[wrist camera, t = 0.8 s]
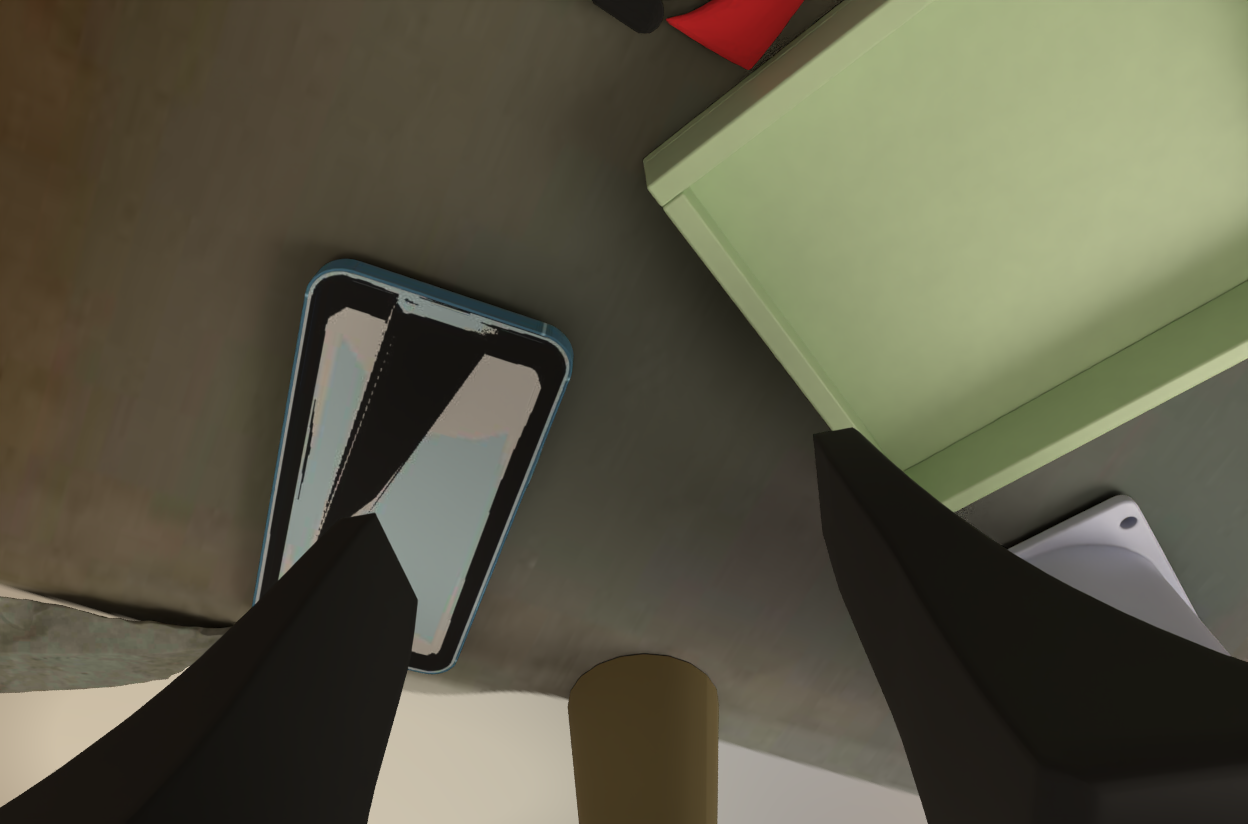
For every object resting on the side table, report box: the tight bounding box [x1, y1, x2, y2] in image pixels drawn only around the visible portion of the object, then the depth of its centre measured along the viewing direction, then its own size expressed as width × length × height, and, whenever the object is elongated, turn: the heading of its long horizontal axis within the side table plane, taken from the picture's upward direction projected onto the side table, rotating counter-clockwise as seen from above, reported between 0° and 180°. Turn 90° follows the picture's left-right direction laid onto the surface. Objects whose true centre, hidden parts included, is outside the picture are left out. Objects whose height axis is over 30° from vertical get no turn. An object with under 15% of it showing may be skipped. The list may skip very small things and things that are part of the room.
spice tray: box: [643, 0, 1248, 512], centre depth 19 cm, size 13×14×2 cm
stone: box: [0, 597, 232, 693], centre depth 28 cm, size 11×2×5 cm
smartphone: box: [252, 259, 574, 674], centre depth 25 cm, size 7×1×15 cm
